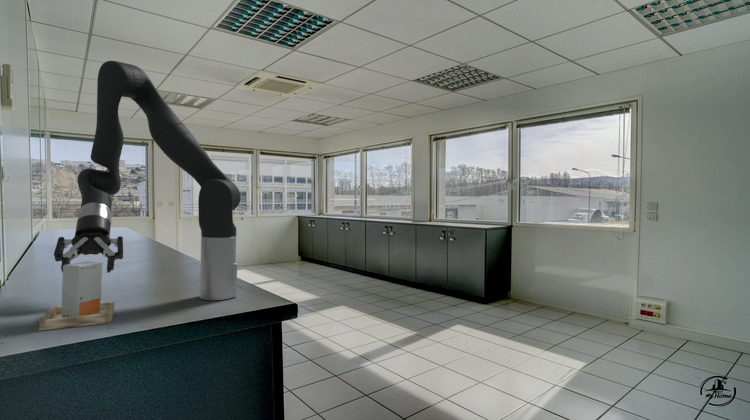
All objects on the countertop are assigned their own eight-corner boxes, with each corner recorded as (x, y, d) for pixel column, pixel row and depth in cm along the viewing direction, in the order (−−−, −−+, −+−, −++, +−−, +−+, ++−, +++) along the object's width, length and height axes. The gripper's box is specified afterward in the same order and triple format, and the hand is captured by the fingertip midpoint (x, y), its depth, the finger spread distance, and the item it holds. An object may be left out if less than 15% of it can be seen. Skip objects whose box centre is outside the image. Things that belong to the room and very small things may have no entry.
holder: (114, 309, 94) (115, 301, 94) (110, 322, 84) (110, 314, 84) (51, 314, 88) (52, 306, 88) (39, 330, 78) (39, 321, 78)
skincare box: (76, 321, 83) (77, 266, 83) (60, 319, 84) (61, 264, 84) (101, 313, 89) (102, 262, 89) (86, 312, 90) (87, 261, 90)
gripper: (59, 213, 99) (48, 264, 90) (125, 214, 107) (121, 261, 97) (62, 232, 104) (53, 282, 94) (125, 231, 111) (122, 278, 102)
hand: (87, 271), depth 96 cm, fingers open, 8 cm apart
